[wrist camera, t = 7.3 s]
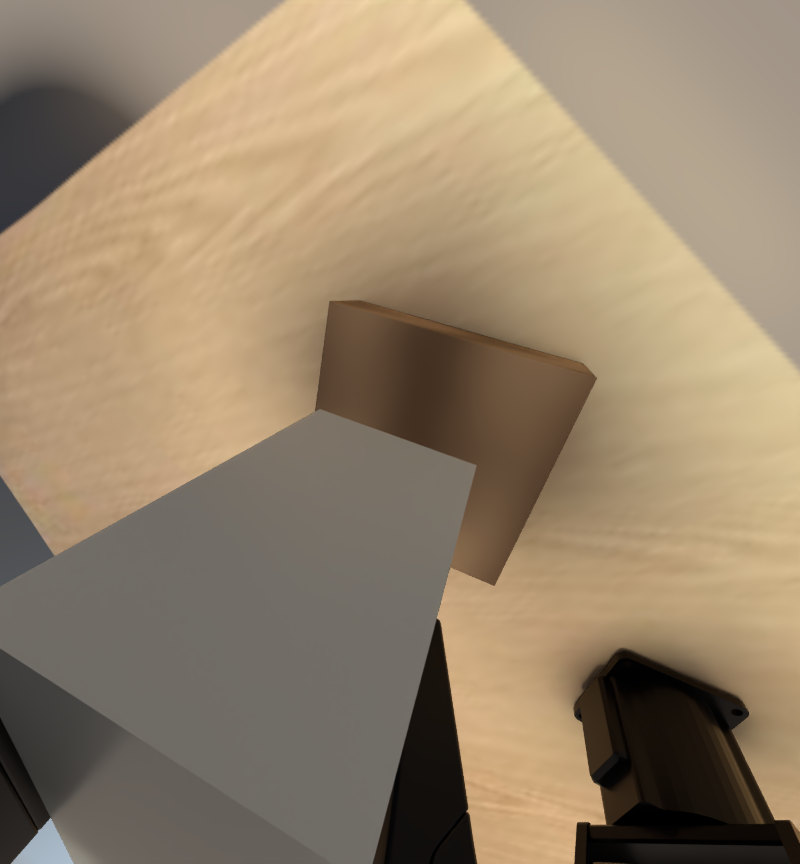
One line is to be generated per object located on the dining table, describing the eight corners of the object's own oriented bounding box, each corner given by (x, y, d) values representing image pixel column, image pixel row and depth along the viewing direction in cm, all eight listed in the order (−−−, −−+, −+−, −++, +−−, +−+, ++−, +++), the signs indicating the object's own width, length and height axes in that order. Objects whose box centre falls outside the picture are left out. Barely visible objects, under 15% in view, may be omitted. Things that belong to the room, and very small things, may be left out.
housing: (411, 638, 12) (285, 1028, 5) (295, 583, 12) (74, 865, 6) (476, 465, 9) (367, 885, 2) (319, 408, 10) (-51, 614, 3)
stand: (583, 363, 15) (596, 378, 13) (497, 547, 20) (494, 585, 17) (358, 300, 17) (329, 301, 15) (329, 479, 22) (302, 504, 19)
